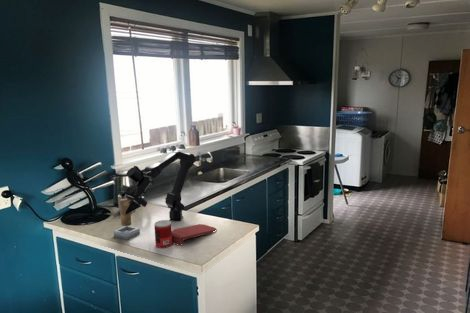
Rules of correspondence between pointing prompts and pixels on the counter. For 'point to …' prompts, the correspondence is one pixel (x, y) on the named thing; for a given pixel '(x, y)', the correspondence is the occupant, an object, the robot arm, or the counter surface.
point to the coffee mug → (119, 202)
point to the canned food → (163, 233)
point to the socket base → (126, 232)
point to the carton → (190, 232)
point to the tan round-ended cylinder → (124, 217)
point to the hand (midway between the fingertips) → (123, 212)
